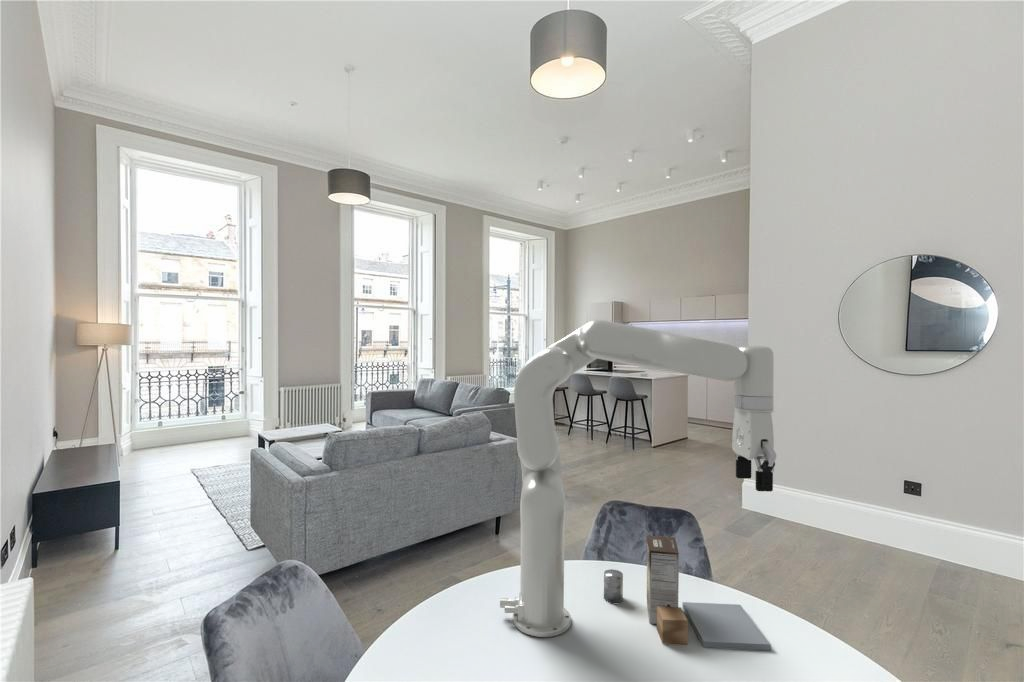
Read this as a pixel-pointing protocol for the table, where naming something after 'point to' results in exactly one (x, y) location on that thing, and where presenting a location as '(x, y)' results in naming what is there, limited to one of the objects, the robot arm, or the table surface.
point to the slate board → (725, 626)
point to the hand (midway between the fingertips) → (753, 484)
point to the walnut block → (672, 625)
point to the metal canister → (613, 586)
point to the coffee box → (661, 574)
